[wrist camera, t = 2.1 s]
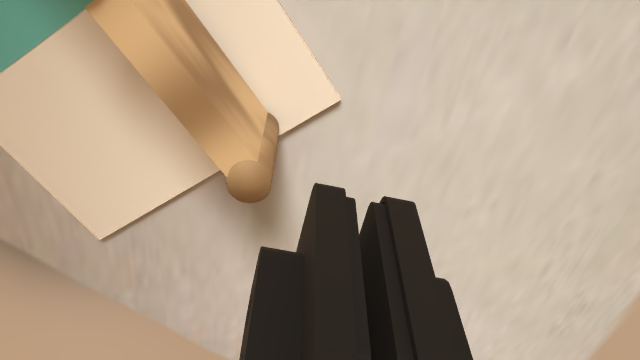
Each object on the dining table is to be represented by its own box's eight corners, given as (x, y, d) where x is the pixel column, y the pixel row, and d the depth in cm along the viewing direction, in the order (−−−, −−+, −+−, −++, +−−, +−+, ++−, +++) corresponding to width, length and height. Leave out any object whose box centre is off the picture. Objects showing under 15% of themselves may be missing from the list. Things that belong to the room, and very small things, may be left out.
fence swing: (125, -19, 23) (77, 12, 18) (157, -43, 23) (115, -18, 18) (256, 149, 27) (243, 209, 23) (286, 132, 27) (279, 190, 22)
